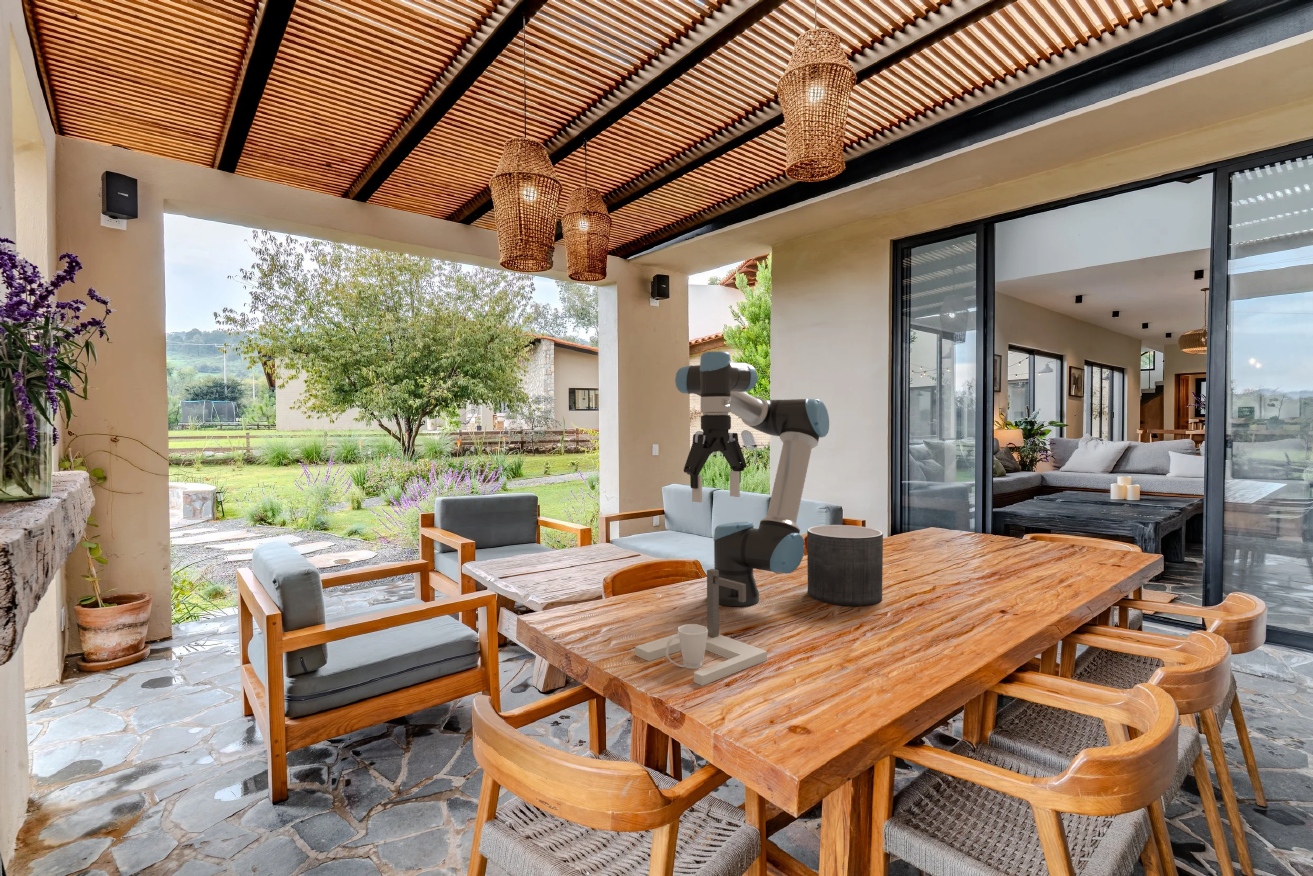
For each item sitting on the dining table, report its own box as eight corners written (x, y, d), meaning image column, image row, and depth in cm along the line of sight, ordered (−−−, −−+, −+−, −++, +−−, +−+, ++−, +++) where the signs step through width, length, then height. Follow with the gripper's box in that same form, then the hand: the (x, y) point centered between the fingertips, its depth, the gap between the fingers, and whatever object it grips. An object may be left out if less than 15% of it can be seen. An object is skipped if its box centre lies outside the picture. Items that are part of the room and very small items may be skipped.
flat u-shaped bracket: (635, 655, 142) (635, 646, 142) (698, 634, 155) (698, 626, 155) (702, 686, 125) (702, 676, 125) (767, 660, 139) (767, 651, 139)
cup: (714, 668, 134) (714, 631, 134) (673, 676, 130) (673, 638, 130) (699, 656, 141) (699, 621, 141) (659, 664, 137) (659, 628, 136)
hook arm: (707, 635, 149) (706, 570, 148) (712, 634, 150) (712, 568, 150) (741, 648, 140) (741, 578, 140) (747, 646, 142) (747, 577, 141)
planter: (881, 589, 196) (882, 526, 195) (883, 610, 175) (883, 539, 174) (810, 584, 203) (810, 523, 202) (803, 603, 182) (803, 535, 181)
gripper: (690, 414, 142) (691, 505, 143) (759, 413, 159) (760, 495, 159) (668, 414, 148) (669, 502, 149) (737, 413, 164) (738, 493, 165)
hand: (716, 499), depth 154 cm, fingers open, 13 cm apart
